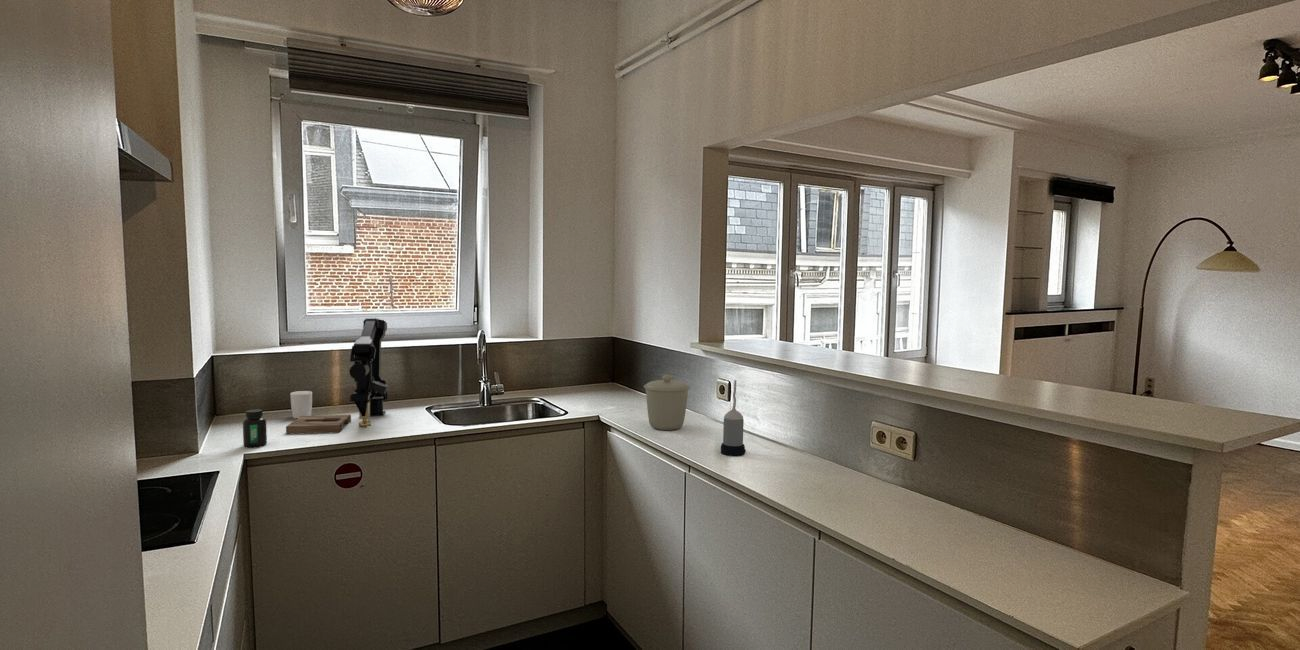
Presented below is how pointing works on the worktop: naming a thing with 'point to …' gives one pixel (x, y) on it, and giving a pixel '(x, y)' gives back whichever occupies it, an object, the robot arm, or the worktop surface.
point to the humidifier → (733, 431)
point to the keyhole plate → (318, 424)
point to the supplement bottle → (254, 429)
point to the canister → (666, 403)
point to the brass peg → (365, 417)
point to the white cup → (301, 403)
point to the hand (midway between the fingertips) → (364, 415)
